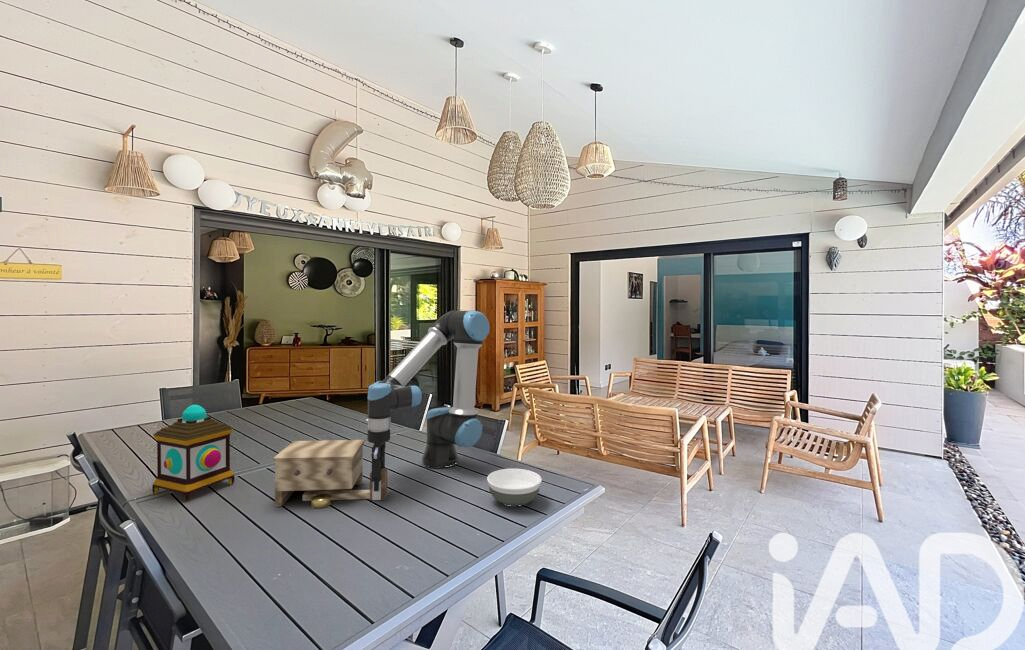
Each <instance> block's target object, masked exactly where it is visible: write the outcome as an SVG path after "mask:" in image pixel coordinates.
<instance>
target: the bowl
mask: <svg viewBox="0 0 1025 650" xmlns="http://www.w3.org/2000/svg"><path fill="white" fill-rule="evenodd" d="M486 479H487V482H488V489H489V492H490V494H491V495H492V497H493V498H494V499H495V500H497V502H499V503H501V504H502V503H503V504H502V505H504V504H506V505H511V506H519V505H523V506H525V505H526V504H528V503H530V502H532V501H533V500H534V499H535V498H536V497H537V496H538V493H539V492H540V487H541V484H542V481H543V478H542V477H541V475H540V474H538V473H537V472H534V471H532V470H529V469H524V468H502V469H499V470H495V471H492V472H490V473H489V474H488V476H487V477H486ZM524 504H525V505H524Z"/></svg>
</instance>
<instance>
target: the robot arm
mask: <svg viewBox="0 0 1025 650" xmlns="http://www.w3.org/2000/svg"><path fill="white" fill-rule="evenodd" d="M490 328H491V327H490V323H489V320H488V318H487V317H486V315H485V314H484V313H483V312H480V311H478V310H458V309H457V310H450V311H448V312H446V313H445V314H443V315H442V316H440V317H439V318H438V319H437V320H436V321H435V322H434V323H432V325H430V327H429V328H428V329H427V330H428V331H427V333H426V335H424V336H423V338H422V339H421V340H420V341H419V342H418V343H417V344H416V345H415V346H414V347H413V348H412V349H411V350H410V351H409V352H408V354H407V355H406V356H405V357H404V358H403V359H402V360H401V361H400V362H399V363H398V364H397V365H396V366H395V367H394V368H393V369H392V371H391V372H389V373H388V375H387V376H386V377H385V378H384V379H383V380H378V381H376V382H374V383H372V384H370V385H369V386H368V389H367V390H368V391H367V419H365V422H366V423H367V429H368V430H367V434H366V435H367V436H366V437H367V438H366V441H368V442H369V443H372V444H373V445H372V447H371V471H372V479H371V480H370V479H369V483H370V482H373V487H372V500H371V501H382V500H381V479H380V478H381V468H386V444H387V443H386V442H389V441H390V440H391V429H390V428H391V426H392V425H391V418H392V417H391V414H392V411H395V410H402V409H407V408H409V409H410V408H413V407H417V406H419V405H420V404H421V403H422V399H423V398H422V397H423V396H422V395H423V394H422V391H421V389H420V387H419V386H417V385H407V384H408V383H409V382H410V381H411V380H412V379H413V377H414V376H415V375H416V374H417V373H418V372H419V371H420V370H421V369H422V367H423V366H424V365H425V364H426V363H427V362H428V361H429V360H430V359H431V358H432V357H433V356H434V354H435V353H436V352H437V351H438V350H439V349H440V348H441V347H442V346H445V345H447V344H448V343H449V342H450V341H451V340H453V344H454V346H456V358H455V372H454V384H453V385H454V387H453V400H452V401H453V403H452V407H448V406H447V407H446V406H444V407H437V408H431V409H429V410H428V411H427V414H426V420H425V421H426V446H425V449H424V452H423V454H422V458H421V464H422V463H423V464H424V465H426V466H429V467H445V466H450V465H453V464H455V463H457V462H458V463H459V455H458V452H457V448H456V446H458V447H463V448H471V447H473V446H475V444H477V442H479V440H480V439H481V437H482V433H483V424H482V423H481V421H480V419H478V413H479V412H478V411H477V409H476V408H475V404H476V403H475V401H476V387H477V375H478V374H477V373H478V361H479V360H478V357H479V350H480V348H481V347H482V346H483V343H484V340H485V339H486V338H487V337H488V336H489V333H490ZM406 385H407V386H406ZM458 463H457V464H458ZM423 464H422V465H423ZM424 465H423V466H424ZM426 466H425V467H426ZM429 467H428V468H429Z"/></svg>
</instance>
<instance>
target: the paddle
mask: <svg viewBox="0 0 1025 650" xmlns="http://www.w3.org/2000/svg"><path fill="white" fill-rule="evenodd" d="M388 471H389V470H388V468H386V467H385V468H381V478H380V479H381V500H380V501H383V500H384V501H385V500H386V499H387V495H388V473H389V472H388ZM371 479H372V470H371V471H370V472H369V489H336V490H305V491H304V493H303V494H302V501H303V502H304V501H305V502H308V501H310V502H311V498H312V497H313V496H315V495H318V494H330V495H331V501H343V500H346V501H348V500H369V501H373V500H372V487H373V482H370V480H371Z"/></svg>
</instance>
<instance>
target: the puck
mask: <svg viewBox="0 0 1025 650" xmlns="http://www.w3.org/2000/svg"><path fill="white" fill-rule="evenodd" d="M310 502H311V503H310V506H311V508H312V509H317V510H318V509H324V508H328V507H329V506H331V505H332V500H331V495H330V494H318V495H315V496H313V497H312V498H311V501H310Z"/></svg>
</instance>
